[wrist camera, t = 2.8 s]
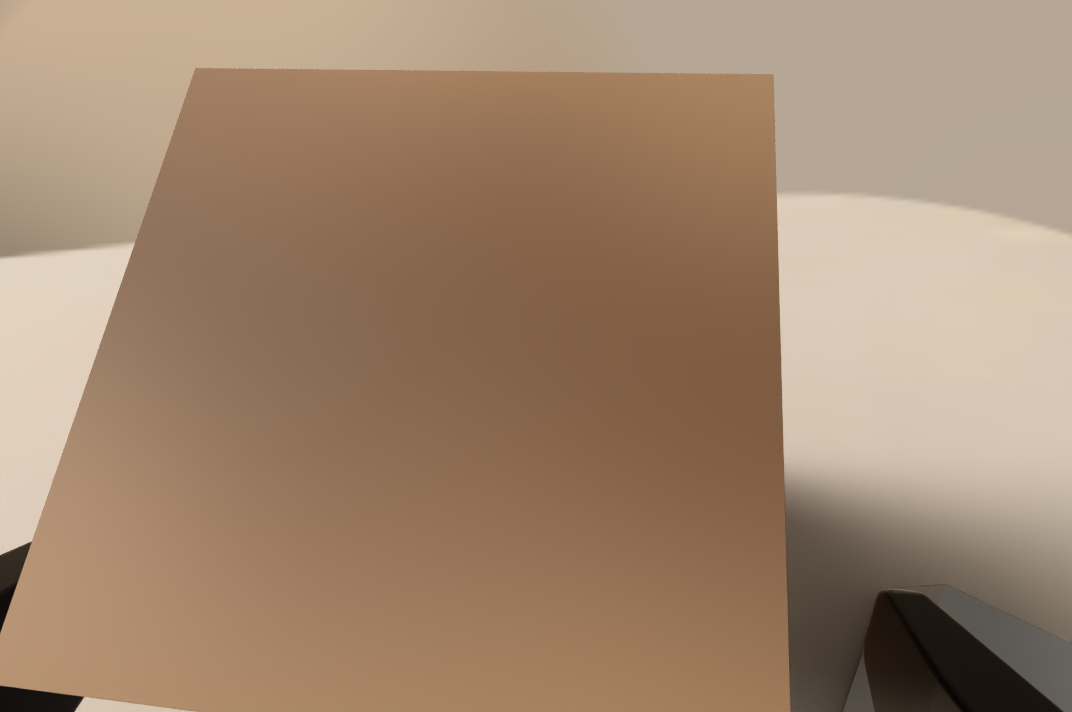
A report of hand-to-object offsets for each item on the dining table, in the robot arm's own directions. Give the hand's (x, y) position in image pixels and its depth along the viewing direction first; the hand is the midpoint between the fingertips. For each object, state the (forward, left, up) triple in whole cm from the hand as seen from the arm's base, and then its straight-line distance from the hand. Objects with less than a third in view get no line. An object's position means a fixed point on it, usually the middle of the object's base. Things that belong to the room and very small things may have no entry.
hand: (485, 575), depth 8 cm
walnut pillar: (+1, 0, -9) cm, 9 cm away
